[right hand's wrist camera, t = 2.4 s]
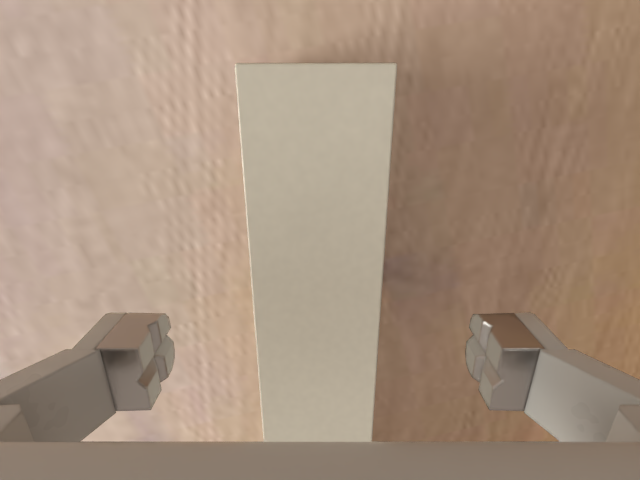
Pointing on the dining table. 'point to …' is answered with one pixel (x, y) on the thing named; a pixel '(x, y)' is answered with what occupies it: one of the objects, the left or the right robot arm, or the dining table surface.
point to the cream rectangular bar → (316, 239)
